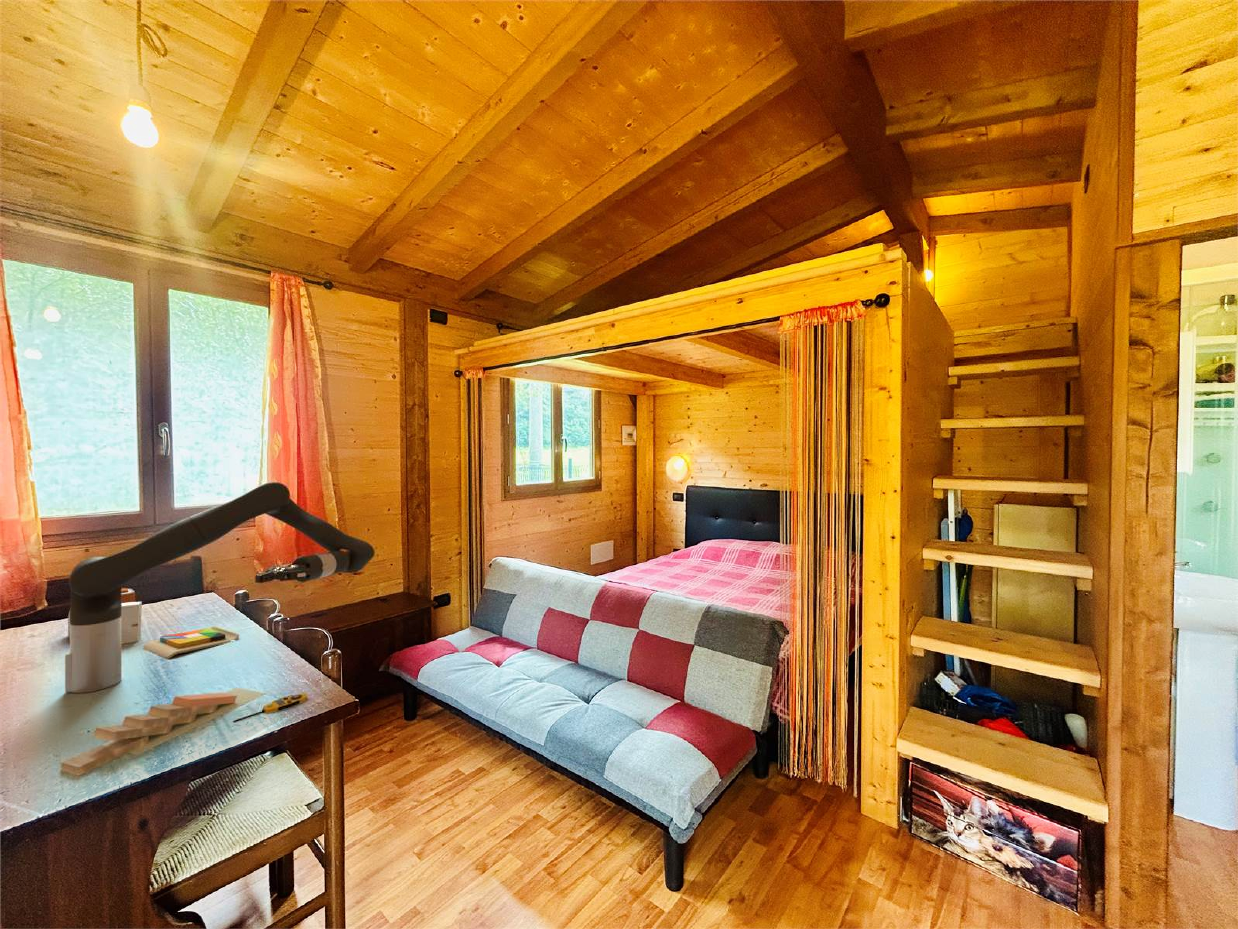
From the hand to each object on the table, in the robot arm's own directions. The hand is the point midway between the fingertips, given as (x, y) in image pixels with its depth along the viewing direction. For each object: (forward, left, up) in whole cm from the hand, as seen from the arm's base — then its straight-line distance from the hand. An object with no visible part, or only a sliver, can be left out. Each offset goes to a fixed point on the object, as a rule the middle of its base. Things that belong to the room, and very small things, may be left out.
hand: (257, 579), depth 132 cm
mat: (-7, -17, -28) cm, 33 cm away
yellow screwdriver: (+8, -19, -28) cm, 35 cm away
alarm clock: (-60, +57, -28) cm, 87 cm away
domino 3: (-8, -18, -27) cm, 33 cm away
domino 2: (-11, -22, -26) cm, 36 cm away
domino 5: (-3, -11, -27) cm, 29 cm away
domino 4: (-5, -15, -27) cm, 31 cm away
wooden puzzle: (-28, +37, -28) cm, 55 cm away
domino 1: (-13, -25, -26) cm, 39 cm away
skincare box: (-48, +45, -28) cm, 72 cm away
